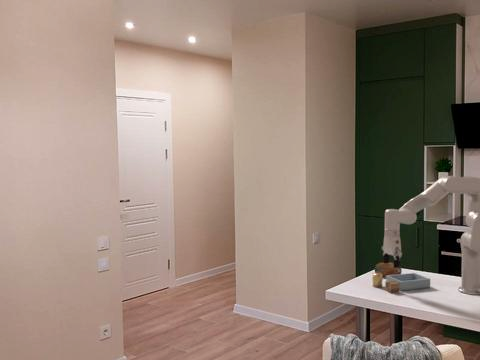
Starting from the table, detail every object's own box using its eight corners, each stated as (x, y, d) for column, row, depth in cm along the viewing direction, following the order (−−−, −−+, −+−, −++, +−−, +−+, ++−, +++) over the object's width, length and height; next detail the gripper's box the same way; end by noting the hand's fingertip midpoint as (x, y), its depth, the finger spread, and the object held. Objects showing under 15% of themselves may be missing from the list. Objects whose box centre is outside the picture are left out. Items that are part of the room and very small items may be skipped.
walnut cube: (399, 292, 255) (399, 283, 254) (390, 293, 253) (390, 284, 253) (393, 290, 260) (393, 280, 259) (385, 290, 258) (385, 281, 258)
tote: (430, 288, 261) (430, 278, 261) (400, 291, 257) (400, 281, 256) (414, 281, 275) (414, 272, 275) (386, 284, 270) (386, 275, 270)
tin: (374, 276, 287) (374, 262, 287) (374, 275, 290) (374, 261, 290) (401, 278, 283) (401, 264, 282) (401, 277, 286) (401, 262, 285)
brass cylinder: (384, 287, 265) (384, 274, 264) (375, 288, 264) (375, 275, 263) (379, 284, 270) (379, 272, 269) (371, 285, 268) (371, 273, 268)
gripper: (408, 235, 247) (407, 268, 248) (389, 230, 264) (388, 261, 265) (395, 236, 245) (394, 269, 246) (376, 230, 262) (376, 262, 263)
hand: (391, 265), depth 256 cm, fingers open, 9 cm apart
